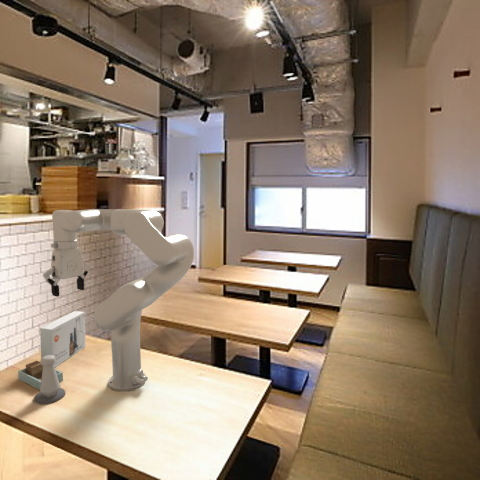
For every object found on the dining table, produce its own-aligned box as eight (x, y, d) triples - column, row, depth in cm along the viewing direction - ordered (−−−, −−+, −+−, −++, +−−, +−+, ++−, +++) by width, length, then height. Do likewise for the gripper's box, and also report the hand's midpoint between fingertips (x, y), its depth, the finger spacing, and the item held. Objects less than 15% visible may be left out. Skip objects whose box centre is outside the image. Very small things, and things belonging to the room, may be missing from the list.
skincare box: (53, 370, 141) (50, 329, 138) (40, 368, 142) (37, 328, 140) (87, 346, 161) (85, 311, 159) (75, 345, 162) (73, 310, 160)
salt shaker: (45, 389, 126) (42, 352, 124) (63, 389, 126) (60, 352, 124) (37, 399, 120) (34, 361, 118) (56, 398, 120) (53, 360, 118)
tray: (63, 380, 133) (62, 372, 133) (40, 390, 126) (40, 382, 126) (40, 370, 140) (40, 362, 140) (18, 379, 134) (18, 371, 133)
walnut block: (43, 376, 136) (42, 363, 135) (32, 381, 133) (31, 367, 132) (37, 373, 138) (36, 360, 137) (26, 378, 135) (25, 364, 134)
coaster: (70, 394, 124) (70, 392, 124) (44, 407, 117) (44, 405, 117) (54, 386, 129) (54, 384, 129) (28, 398, 121) (28, 397, 121)
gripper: (48, 249, 123) (51, 300, 125) (93, 243, 137) (96, 288, 140) (35, 247, 127) (39, 296, 129) (81, 241, 141) (83, 285, 144)
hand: (68, 292), depth 134 cm, fingers open, 9 cm apart
